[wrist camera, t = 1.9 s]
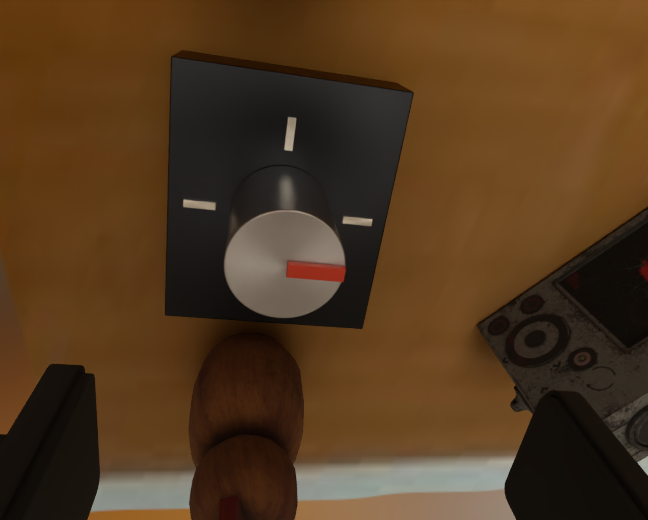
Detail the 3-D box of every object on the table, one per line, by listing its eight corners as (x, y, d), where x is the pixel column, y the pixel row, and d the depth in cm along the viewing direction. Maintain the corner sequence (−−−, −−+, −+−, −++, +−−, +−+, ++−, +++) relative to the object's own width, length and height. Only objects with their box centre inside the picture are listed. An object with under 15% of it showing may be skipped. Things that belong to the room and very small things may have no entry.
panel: (173, 286, 28) (164, 317, 25) (181, 50, 23) (170, 56, 20) (353, 300, 30) (363, 331, 27) (397, 82, 25) (415, 92, 22)
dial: (228, 251, 24) (219, 318, 19) (235, 159, 22) (227, 206, 17) (320, 260, 25) (336, 326, 20) (335, 171, 23) (356, 219, 18)
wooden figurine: (201, 311, 29) (149, 575, 15) (303, 317, 30) (338, 571, 16) (197, 405, 32) (151, 697, 18) (291, 408, 33) (311, 687, 19)
